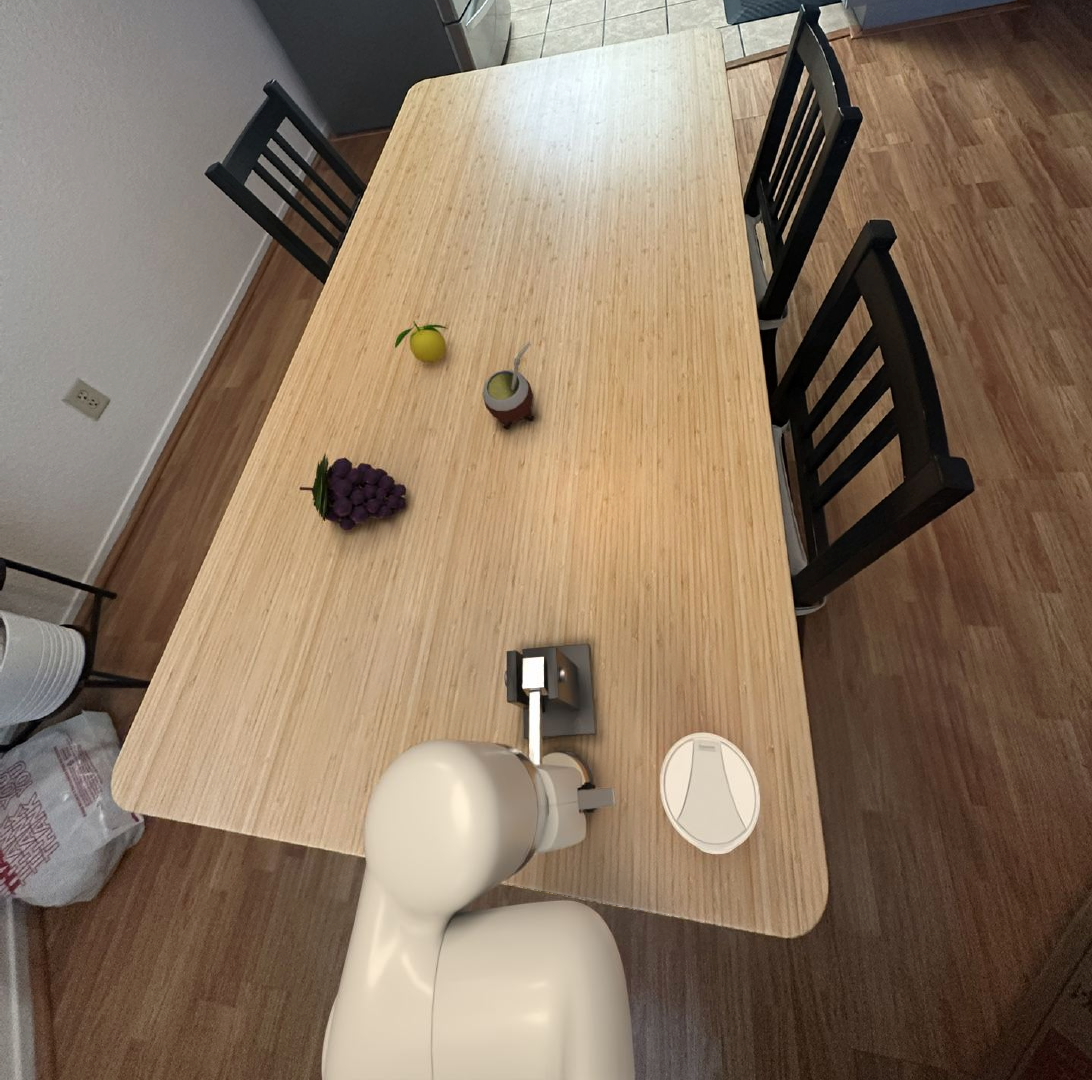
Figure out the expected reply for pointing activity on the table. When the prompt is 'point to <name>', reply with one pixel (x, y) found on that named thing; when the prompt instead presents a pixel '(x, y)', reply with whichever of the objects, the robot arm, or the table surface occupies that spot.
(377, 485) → the fruit
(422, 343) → the lemon
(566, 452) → the table surface
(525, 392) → the mate gourd
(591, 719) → the lever base stand
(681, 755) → the coffee cup
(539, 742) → the lever
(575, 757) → the cake
